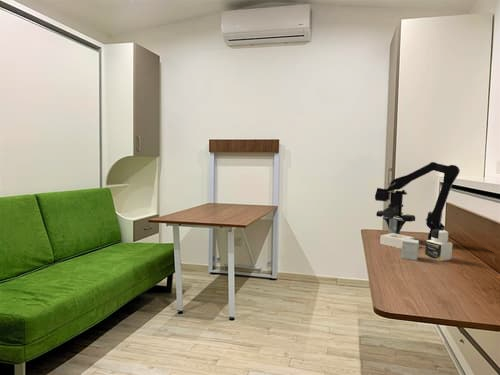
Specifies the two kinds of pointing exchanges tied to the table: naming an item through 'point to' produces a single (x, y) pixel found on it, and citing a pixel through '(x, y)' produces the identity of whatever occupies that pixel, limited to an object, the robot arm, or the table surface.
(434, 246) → the medicine bottle
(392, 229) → the peg
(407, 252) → the product box
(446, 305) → the table surface
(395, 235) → the socket block
